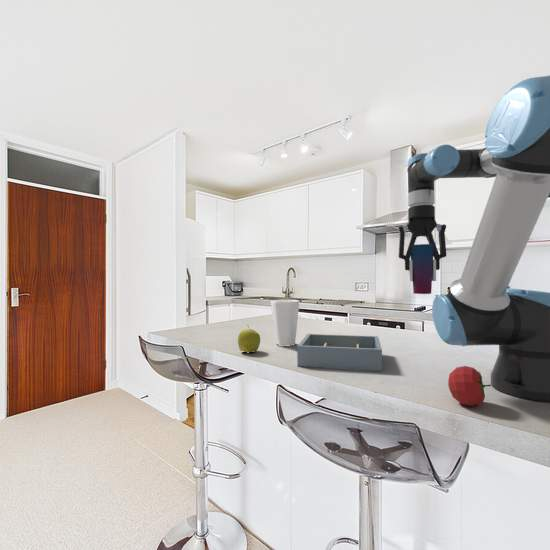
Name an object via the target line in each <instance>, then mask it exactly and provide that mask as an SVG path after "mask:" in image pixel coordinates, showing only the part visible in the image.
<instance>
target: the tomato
mask: <svg viewBox="0 0 550 550" xmlns="http://www.w3.org/2000/svg"><path fill="white" fill-rule="evenodd" d="M448 375H449V376H448V380H447V385H448V389H449V392H450V393H451V395H452V398H453V399H455V400H456V401H457V402H459V403H460V404H462V405H463V406H469V407H475V406H479V405H481V404H482V403H483V402H484V401H485V397H486V393H485V388H486V387H492V385H491V384H484V382H483V376H482V374H481V372H480V371H478V370H477V369H475V368H474V367H472V366H468V365H462V366H458V367H456V368H455V369H453V370H452V371H451V372H450V373H449V374H448Z"/></svg>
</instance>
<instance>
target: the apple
mask: <svg viewBox="0 0 550 550" xmlns="http://www.w3.org/2000/svg"><path fill="white" fill-rule="evenodd" d="M247 326H248V328H244V329H242V330H241V331H240V332H239V334H238V336H237V346H238V349H239V350H240V352H241V351H244V352H253V351H256V352H257V351H258V350H259V348H260V345H261V336H260V334H259V333H258V332H257V331H256V330H255V329H250V327H249V325H247Z"/></svg>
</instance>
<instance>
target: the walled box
mask: <svg viewBox="0 0 550 550" xmlns="http://www.w3.org/2000/svg"><path fill="white" fill-rule="evenodd" d="M296 346H297V347H296V350H297V351H296V352H297V353H296V354H297V355H296V356H297V357H296V358H297V366H298V365H299V366H298V367H301V366H312V367H311V368H318V367H322V368H323V369H335V370H337V369H339V370H357V371H373V372H375V371H376V372H383V348H382V345H381V342H380V338H379V335H350V334H349V335H348V334H347V335H346V334H323V333H322V334H321V333H318V334H317V333H307V334H306V335H305V336H304V337H303V338H302V340H301V341H300V342H299V344H298V345H296ZM322 368H321V369H322Z"/></svg>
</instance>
